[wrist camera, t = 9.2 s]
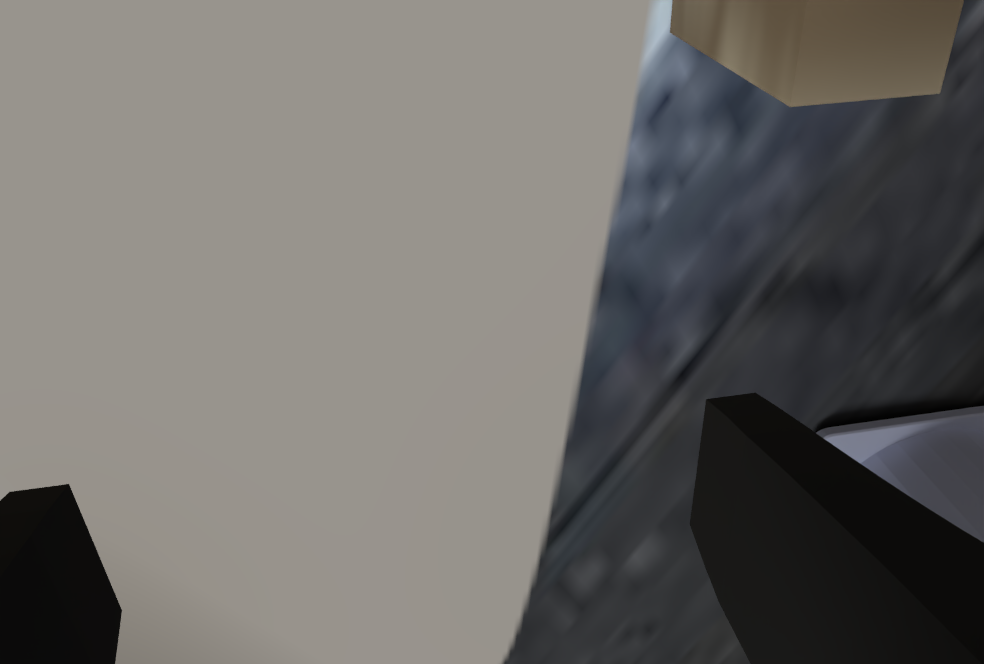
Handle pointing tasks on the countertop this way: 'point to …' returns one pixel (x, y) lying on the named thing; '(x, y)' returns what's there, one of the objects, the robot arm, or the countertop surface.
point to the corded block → (825, 45)
